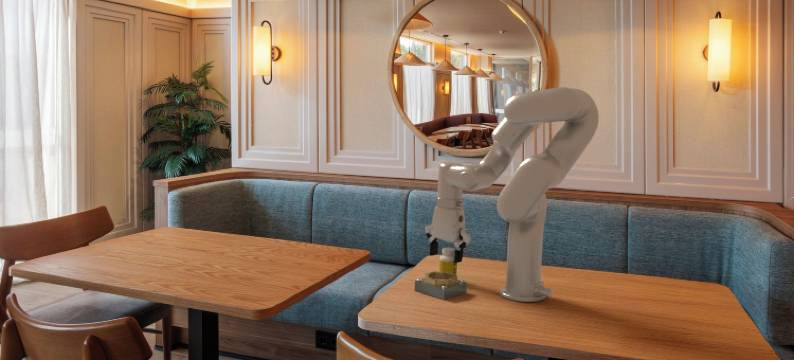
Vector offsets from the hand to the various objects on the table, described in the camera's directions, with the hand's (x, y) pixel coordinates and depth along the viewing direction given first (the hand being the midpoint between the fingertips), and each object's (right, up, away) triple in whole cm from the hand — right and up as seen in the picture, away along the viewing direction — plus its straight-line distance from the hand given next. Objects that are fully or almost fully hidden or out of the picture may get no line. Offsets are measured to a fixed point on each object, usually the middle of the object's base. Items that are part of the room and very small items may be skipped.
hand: (445, 258), depth 181 cm
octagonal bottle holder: (-2, -8, -11) cm, 14 cm away
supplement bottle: (+1, -7, 0) cm, 7 cm away
